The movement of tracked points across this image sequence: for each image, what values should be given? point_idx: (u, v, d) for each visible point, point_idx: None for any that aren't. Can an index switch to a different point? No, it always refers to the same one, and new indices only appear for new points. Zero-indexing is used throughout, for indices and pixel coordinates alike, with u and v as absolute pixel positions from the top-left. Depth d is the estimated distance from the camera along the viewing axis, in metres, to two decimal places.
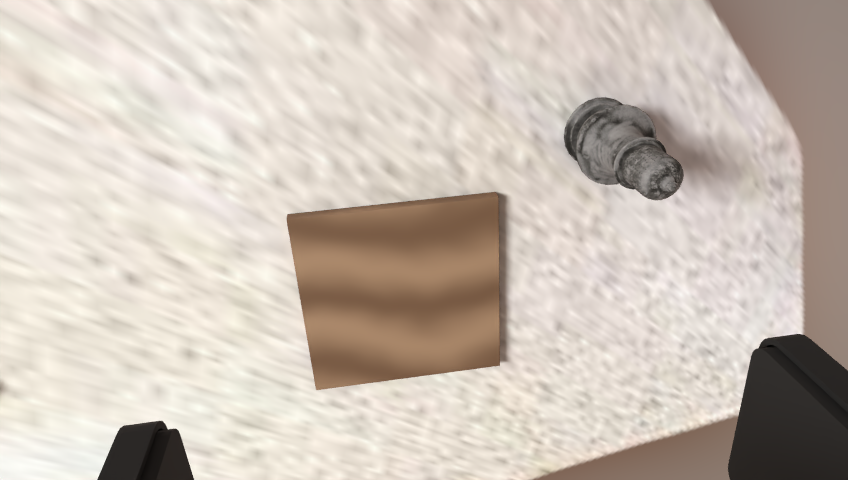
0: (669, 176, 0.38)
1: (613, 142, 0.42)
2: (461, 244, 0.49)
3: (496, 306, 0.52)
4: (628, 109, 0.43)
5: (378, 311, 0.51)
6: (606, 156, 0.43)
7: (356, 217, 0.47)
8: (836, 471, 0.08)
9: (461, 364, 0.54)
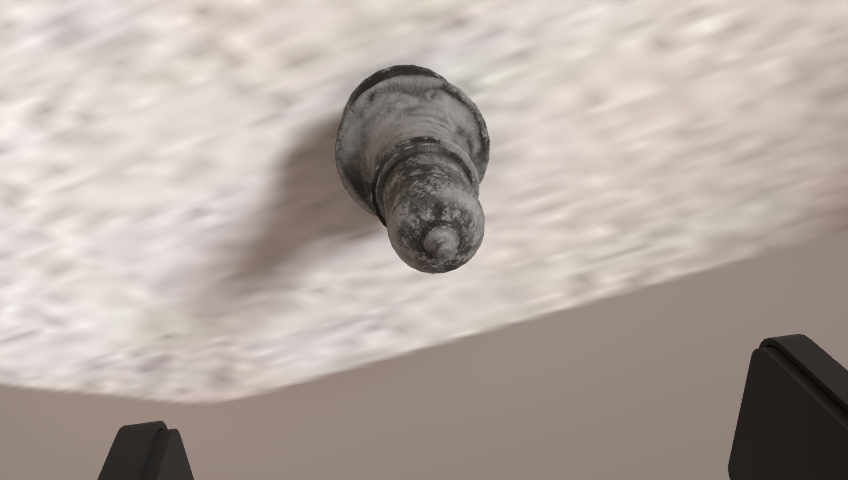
0: None
1: None
2: None
3: None
4: None
5: None
6: (437, 131, 0.22)
7: None
8: (836, 471, 0.08)
9: None
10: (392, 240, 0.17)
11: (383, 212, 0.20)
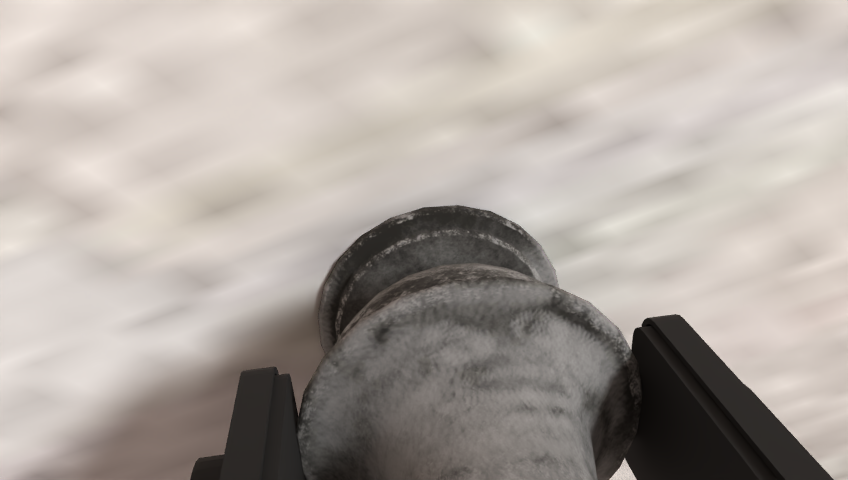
0: None
1: None
2: None
3: None
4: None
5: None
6: (553, 446, 0.08)
7: None
8: (690, 438, 0.09)
9: None
10: None
11: None
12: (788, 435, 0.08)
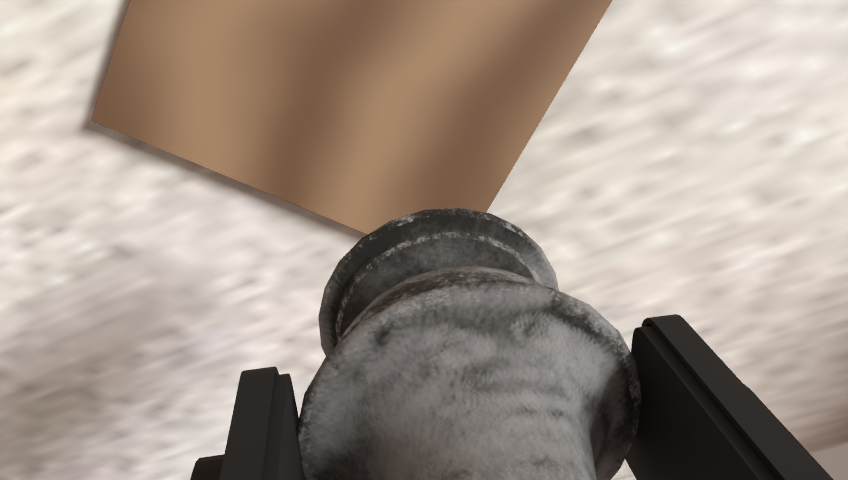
0: None
1: None
2: (410, 182, 0.27)
3: (249, 179, 0.26)
4: None
5: None
6: (553, 450, 0.08)
7: (573, 46, 0.25)
8: (690, 438, 0.09)
9: (136, 46, 0.23)
10: None
11: None
12: (788, 435, 0.08)
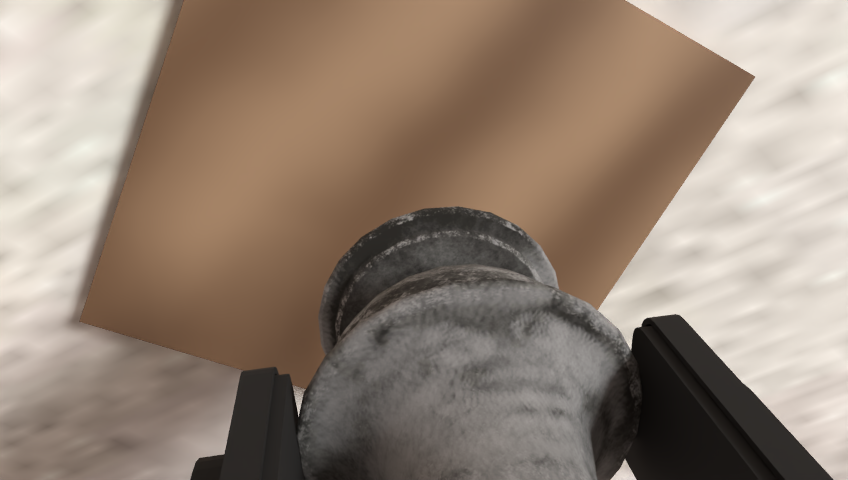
0: None
1: None
2: None
3: None
4: None
5: (412, 132, 0.19)
6: (553, 449, 0.08)
7: (650, 211, 0.21)
8: (690, 438, 0.09)
9: (130, 241, 0.19)
10: None
11: None
12: (788, 435, 0.08)
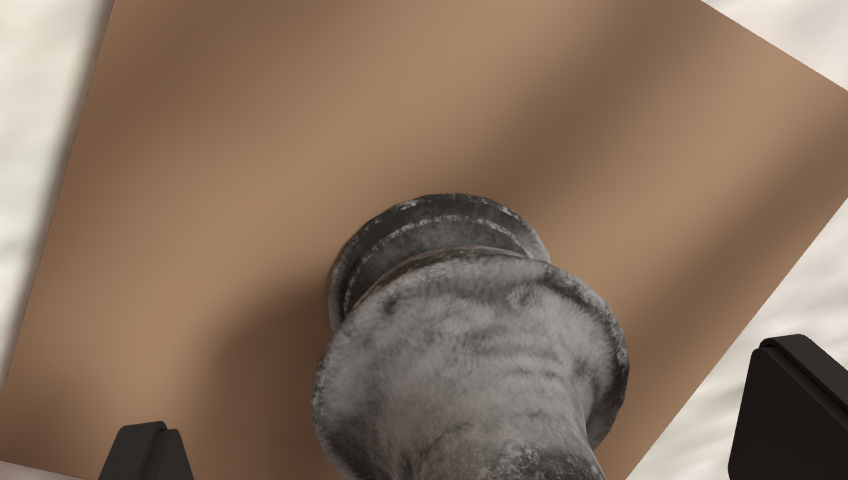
0: None
1: (590, 449, 0.10)
2: None
3: None
4: None
5: None
6: (546, 404, 0.09)
7: (750, 299, 0.16)
8: (836, 471, 0.08)
9: (47, 354, 0.14)
10: None
11: None
12: None
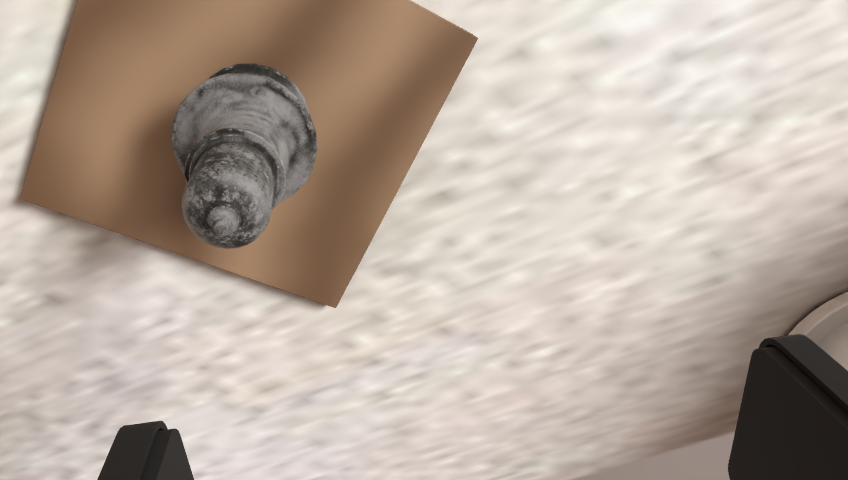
0: (237, 226, 0.20)
1: (275, 145, 0.24)
2: (293, 239, 0.32)
3: (156, 241, 0.31)
4: (299, 181, 0.27)
5: None
6: (255, 124, 0.24)
7: (419, 131, 0.31)
8: (836, 471, 0.08)
9: (53, 141, 0.28)
10: (185, 219, 0.20)
11: None
12: None
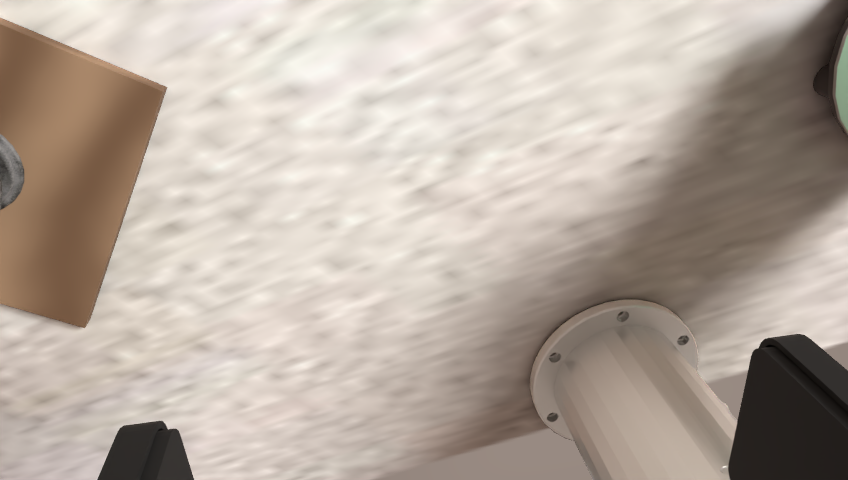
0: None
1: None
2: (31, 268, 0.36)
3: None
4: None
5: None
6: None
7: (127, 172, 0.35)
8: (836, 471, 0.08)
9: None
10: None
11: None
12: None
